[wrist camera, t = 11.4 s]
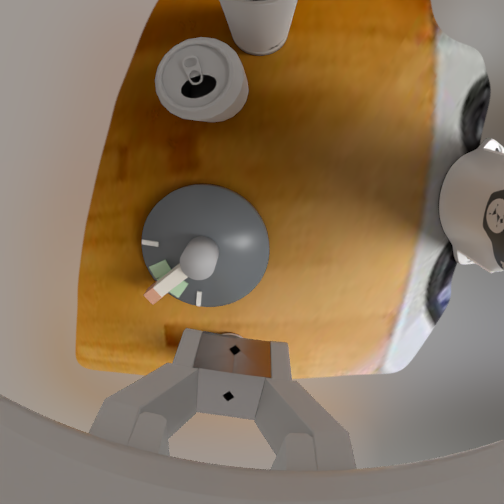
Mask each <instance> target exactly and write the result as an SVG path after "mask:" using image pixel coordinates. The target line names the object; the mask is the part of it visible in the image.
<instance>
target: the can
mask: <svg viewBox="0 0 504 504" xmlns="http://www.w3.org/2000/svg"><path fill="white" fill-rule="evenodd" d="M155 86H156V93H157V95H158V97H159V99H160V101H161V104H162V105H163V106H164V107H165V108H166V109H167V110H168V111H169V112H170V113H172V114H174V115H176V116H178V117H180V118H182V119H189V120H196V121H205V122H220V121H225V120H227V119H229V118H231V117H233V116H234V115H236V114H237V113H238V112H239V111H240V110H241V109H242V107H243V106H244V104H245V102H246V100H247V96H248V92H249V90H248V81H247V78H246V75H245V71H244V68H243V65H242V63H241V61H240V59H239V57H238V55H237V53H236V52H235V51H234V50H233V49H232V48H231V47H230V46H229V45H227V44H226V43H224V42H221V41H219V40H217V39H215V38H206V37H198V38H193V39H187V40H185V41H183V42H181V43H179V44H177V45H175V46H174V47H173V48H172V49H171V50H170V51H169V52H167V53H166V54H165V55H164V57H163V59H162V60H161V62H160V64H159V66H158V68H157V72H156V77H155Z"/></svg>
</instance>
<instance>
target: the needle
mask: <svg viewBox="0 0 504 504" xmlns="http://www.w3.org/2000/svg"><path fill="white" fill-rule="evenodd" d="M218 257H219V248H218V246H217V244H216V243H215V242H214V241H213V240H212V239H211V238H209V237H206V236H198V237H195V238H193V239H192V240H191V241H190V242H189V243H188V245H187V247H186V248H185V250H184V252H183V253H182V255H181V257H180V263H179V264H178V265H177V266H175V267H174V268H173V269H172V270H170V271H169V272H168V273H167V274H165V275H164V276H163V277H162V278H160V279H159V280H158V281H156V282H155V283H154V284H152V285H151V286H150V287H149V288H148V289H147V290H146V292H145V294H144V296H145V297H146V298H147V299H148V300H149V301H150V303H151V304H152V305H153V304H154V303H156V302H157V301H158V300H160V299H161V298H162V297H163V296H164V295H165V294H167V293H168V292H169V291H171V290H172V289H173V288H174V287H176V286H177V285H178V284H180V283H181V282H182V281H184V280H185V279H186V278H188V277H189V278H191V279H194V280H204V279H206V278H208V277H210V276H211V275H212V273H213V272H214V269H215V266H216V263H217V260H218Z"/></svg>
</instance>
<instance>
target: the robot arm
mask: <svg viewBox="0 0 504 504" xmlns="http://www.w3.org/2000/svg"><path fill="white" fill-rule="evenodd" d="M495 149H496V151H495ZM439 214H440V220H441V224H442V227H443V230H444V232H445V234H446V236H447V237H448V239H449V240H450V242H451V244H452V246H453V254H454V258H455V260H456V262H458V263H459V264H462V265H464V264H477V265H479V266H480V267H482V268H483V269H485V270H486V271H488V272H490V273H493V272H500V271H504V147H503V146H501V145H500V144H499V143H498V142H497V141H495V140H494V139H491V138H486V139H485V140H484V141H483V142H482V143H481V144H480V146H479V147H478V148H477V149H476V150H474V151H471V152H469V153H467V154H465V155H463V156H462V157H460V158H459V159H458V160H457V161H456V162H455V163H454V164H453V165H452V167H451V168H450V170H449V171H448V173H447V175H446V177H445V179H444V182H443V185H442V189H441V193H440V200H439ZM196 412H200V413H208V414H216V415H223V416H230V417H237V418H243V419H251V420H255V423H256V425H257V426H258V428H259V429H260V431H261V433H262V434H263V436H264V437H265V439H266V440H267V442H268V444H269V445H270V447H271V448H272V450H273V451H274V453H275V454H276V459H275V461H274V463H273V465H272V467H271V469H270V470H266V469H253V468H242V467H233V466H225V465H217V464H210V463H204V462H197V461H192V460H186V459H181V458H176V457H171V456H170V455H169V446H168V445H169V444H168V438H170V437H171V436H172V435H173V434H174V433H175V432H176V431H177V430H178V429H179V428H181V427H182V426H183V425H184V424H185V423H186V422H187V421H188V420H189V419H190V418H192V417H193V416H194V415H195V414H196ZM225 414H226V415H225ZM0 504H504V440H501V441H498V442H495V443H491V444H488V445H485V446H482V447H478V448H475V449H471V450H468V451H464V452H460V453H456V454H452V455H448V456H443V457H439V458H434V459H428V460H423V461H418V462H412V463H405V464H398V465H391V466H383V467H374V468H363V469H356V464H355V459H354V455H353V450H352V445H351V441H350V436H349V433H348V432H347V431H346V430H345V429H344V428H343V427H342V426H341V425H340V424H339V423H338V422H337V421H336V420H335V419H334V418H333V417H332V416H331V415H330V414H329V413H328V412H327V411H326V410H325V409H324V408H323V407H322V406H321V405H320V404H319V403H318V402H317V401H316V400H315V399H314V398H313V397H312V396H311V395H310V394H309V393H308V392H307V391H306V390H305V389H304V388H303V387H302V386H301V385H300V384H299V383H298V382H297V381H292V377H291V368H290V358H289V349H288V344H287V342H276V341H262V340H254V339H246V338H239V337H234V336H228V335H222V334H217V333H211V332H206V331H200V330H194V329H188V328H186V329H185V330H184V332H183V335H182V338H181V341H180V343H179V346H178V349H177V352H176V355H175V358H174V361H173V364H171V363H166V364H165V365H163V366H161V367H160V368H158V369H156V370H155V371H153V372H151V373H149V374H148V375H146V376H144V377H143V378H141V379H139V380H137V381H136V382H134V383H132V384H131V385H129V386H127V387H125V388H124V389H122V390H120V391H118V392H117V393H115V394H113V395H111V396H110V397H108V398H106V399H105V400H104V402H103V404H102V406H101V408H100V410H99V412H98V415H97V416H96V418H95V421H94V423H93V425H92V427H91V429H90V431H89V433H86V432H83V431H80V430H78V429H75V428H72V427H70V426H67V425H65V424H62V423H60V422H57V421H55V420H52V419H50V418H48V417H45V416H43V415H41V414H39V413H36V412H34V411H32V410H30V409H28V408H26V407H24V406H22V405H20V404H18V403H16V402H14V401H12V400H10V399H8V398H6V397H4V396H2V395H0Z"/></svg>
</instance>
